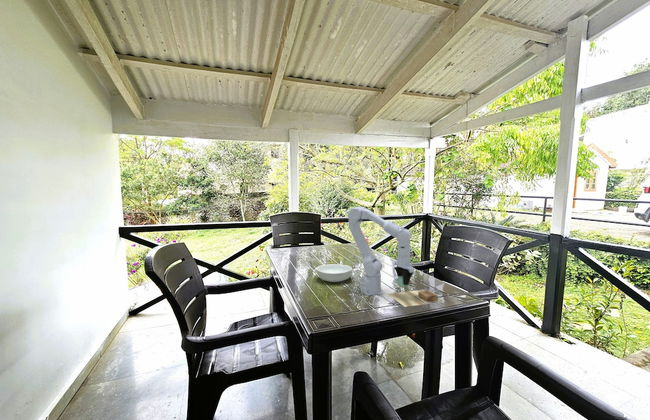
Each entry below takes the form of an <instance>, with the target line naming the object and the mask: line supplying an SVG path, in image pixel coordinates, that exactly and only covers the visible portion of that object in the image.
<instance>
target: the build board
mask: <svg viewBox="0 0 650 420" xmlns="http://www.w3.org/2000/svg"><path fill="white" fill-rule="evenodd" d="M422 291H425V290H424V289H417V290H409V291H408V290H407V291H399V292H391V293H387V295H388V296H389V297H391V298H392V299H394V300H395V301H396V302H397V303H399V304H400V305H402V306H403V307H404V308H407V307H415V306H423V305H429V304H430V305H431V304H437V303H444V302H445V301H444V300H442V299H440V298H439V297H438V300H437V301H430V302H425V301H424V300H422V299H421V298H419V297H418V292H422Z"/></svg>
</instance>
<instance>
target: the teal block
mask: <svg viewBox="0 0 650 420" xmlns="http://www.w3.org/2000/svg"><path fill="white" fill-rule="evenodd" d="M410 283H411V281H409V285H404V283H403V276H397V285H398V286H399V287H401V288H406V287H407V288H408V287H411V284H410Z"/></svg>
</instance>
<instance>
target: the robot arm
mask: <svg viewBox="0 0 650 420" xmlns="http://www.w3.org/2000/svg"><path fill="white" fill-rule="evenodd" d="M347 217H348V229H349V232H350V233H351V235H352V237H353V239H354V242H355V243H356V246H357V248H358V251H359V252H360V254H361V256H362V257H361V258H363V260H362V261H363V266H364V272H365V275H362V276H361V278H360V291H361V292H362V293H363V294H364V295H366V296H375V295H383V294H385V292H384V291H382V290H381V288H382V284H381V282H382V281H381V280H382V273H381V271H382V269H383V263H382V262H381V261H380V260H379V259H378V258H377V256H376V255H374V253H373V251H372V249H371V247H370V245H369V243H368V241H367V239H366V236H365V235H364V232H363V231H362V229H361V224H362V222H363V220H369V221H371V222H373V223H374V224H377V225H378V226H380V227H382V229H383V231H384V232H385V233H387V234H389V236H392V237H394V238H396V240H397V260H394V261H393V263H394V267H393V269H394V270H395V272H396V277H398V276H403V283H404V285H409V281H410V280H411V278H412V275H413V274H414V273H415V267H413V264H412V262H411V238H412V233H411V231H410V230H409V229H407V228H404V227H403V226H400V225H398V224H397V223H396V221H394V220H392V221H391V220H387V221H386V220H385V219H384V218H382V217H381V216H379V215H377V214H375V213H374V212H373V211H372V210H370V209H368V208H366V207H364V206H361V205H360V206H357V207H354V206H353V207H351V208H350V209H349V211H348V213H347ZM410 282H411V281H410Z"/></svg>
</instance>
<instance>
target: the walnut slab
mask: <svg viewBox="0 0 650 420" xmlns="http://www.w3.org/2000/svg"><path fill="white" fill-rule="evenodd" d="M418 297H419V298H421V299H422V300H424V301H425V302H430V301H437V300H438V298H439V297H438V294H437V293H435V292H432V291H431V290H424V291H422V292H418Z"/></svg>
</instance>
